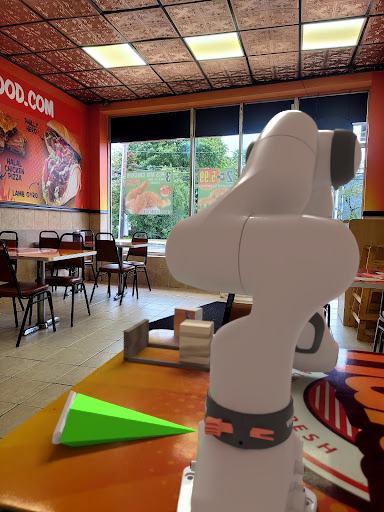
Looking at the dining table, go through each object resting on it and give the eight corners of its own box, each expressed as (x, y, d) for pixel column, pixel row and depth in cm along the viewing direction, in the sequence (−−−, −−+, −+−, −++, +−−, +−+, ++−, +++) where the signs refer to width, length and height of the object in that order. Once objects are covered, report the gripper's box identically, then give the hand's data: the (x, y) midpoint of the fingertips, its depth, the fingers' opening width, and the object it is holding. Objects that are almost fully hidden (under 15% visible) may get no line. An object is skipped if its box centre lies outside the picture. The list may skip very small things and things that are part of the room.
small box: (173, 339, 119) (173, 307, 118) (181, 334, 124) (181, 304, 123) (194, 343, 115) (195, 310, 114) (202, 338, 120) (202, 307, 119)
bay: (210, 375, 90) (210, 340, 89) (123, 364, 97) (123, 331, 96) (221, 356, 103) (221, 326, 103) (144, 347, 110) (144, 318, 109)
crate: (208, 364, 94) (208, 327, 93) (179, 361, 96) (179, 324, 95) (213, 356, 100) (214, 321, 99) (185, 353, 102) (186, 319, 101)
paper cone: (195, 422, 72) (70, 406, 70) (201, 401, 70) (71, 384, 68) (198, 474, 62) (50, 458, 59) (204, 451, 60) (51, 434, 57)
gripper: (273, 327, 102) (225, 322, 106) (267, 350, 82) (209, 343, 86) (272, 348, 102) (224, 343, 106) (266, 376, 83) (208, 369, 87)
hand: (217, 343), depth 96 cm, fingers closed
